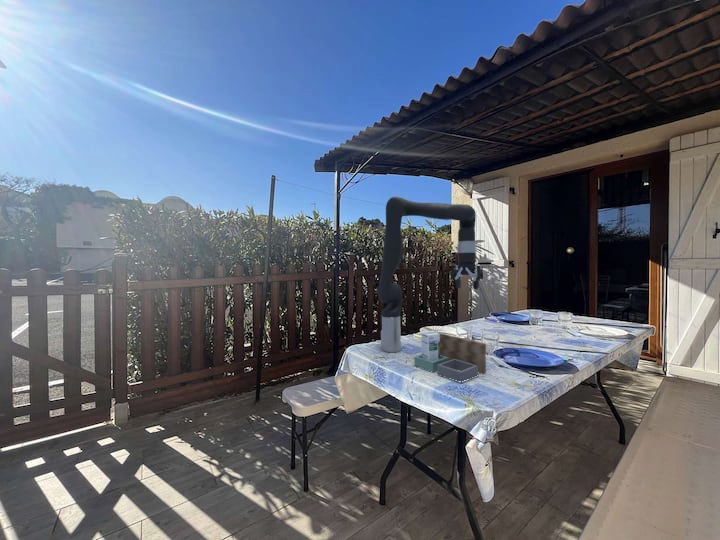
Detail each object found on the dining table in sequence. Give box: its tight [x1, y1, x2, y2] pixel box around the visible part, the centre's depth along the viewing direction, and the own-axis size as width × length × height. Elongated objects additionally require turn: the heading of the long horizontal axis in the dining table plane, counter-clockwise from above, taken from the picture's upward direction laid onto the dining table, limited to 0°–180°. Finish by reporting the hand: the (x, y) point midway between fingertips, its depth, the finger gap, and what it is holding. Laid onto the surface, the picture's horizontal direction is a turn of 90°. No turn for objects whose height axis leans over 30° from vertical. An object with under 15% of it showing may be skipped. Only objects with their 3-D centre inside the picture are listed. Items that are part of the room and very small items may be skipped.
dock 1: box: [413, 354, 448, 373], centre depth 132 cm, size 10×10×4 cm
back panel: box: [436, 331, 487, 375], centre depth 133 cm, size 25×2×12 cm, turn 37°
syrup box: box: [420, 330, 440, 362], centre depth 132 cm, size 6×6×14 cm
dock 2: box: [436, 359, 479, 382], centre depth 122 cm, size 11×11×4 cm
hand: (466, 288), depth 136 cm, fingers open, 8 cm apart
